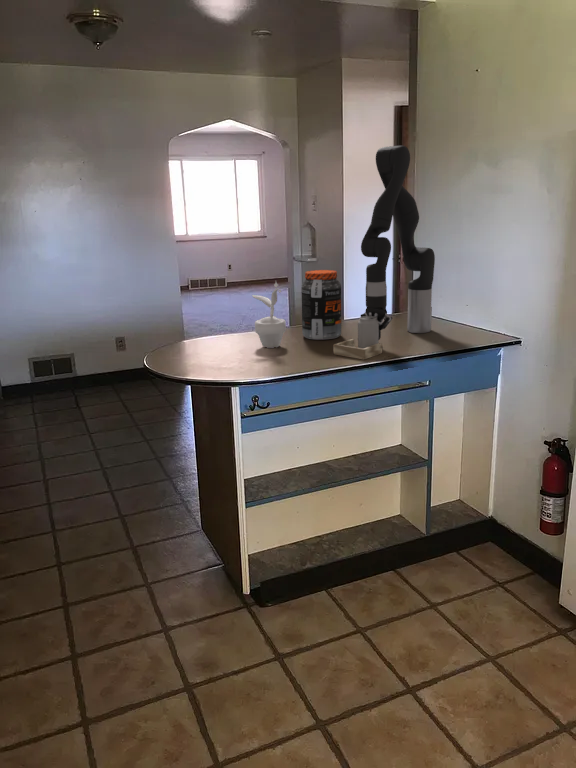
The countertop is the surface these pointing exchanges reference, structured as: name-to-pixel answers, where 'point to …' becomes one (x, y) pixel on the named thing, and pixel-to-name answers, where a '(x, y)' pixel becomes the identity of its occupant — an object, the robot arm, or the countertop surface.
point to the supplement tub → (321, 305)
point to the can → (368, 331)
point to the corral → (356, 350)
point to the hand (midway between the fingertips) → (376, 340)
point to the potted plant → (270, 323)
